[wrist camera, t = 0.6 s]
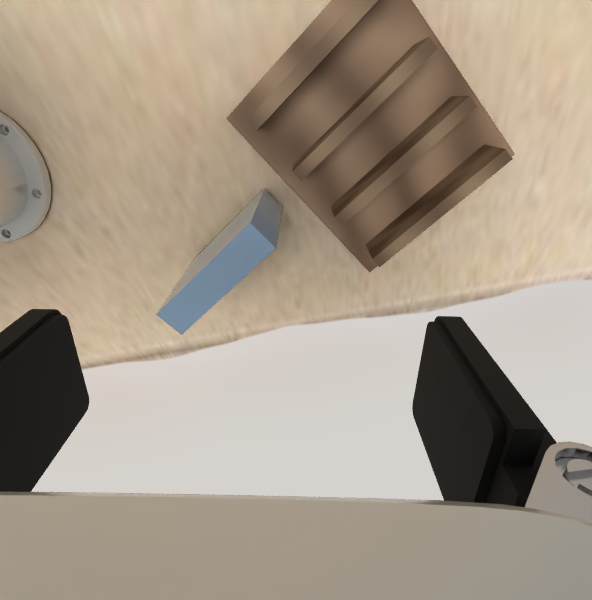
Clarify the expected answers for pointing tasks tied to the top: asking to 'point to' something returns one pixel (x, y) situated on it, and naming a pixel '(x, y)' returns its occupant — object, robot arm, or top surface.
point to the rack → (372, 126)
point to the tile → (224, 262)
